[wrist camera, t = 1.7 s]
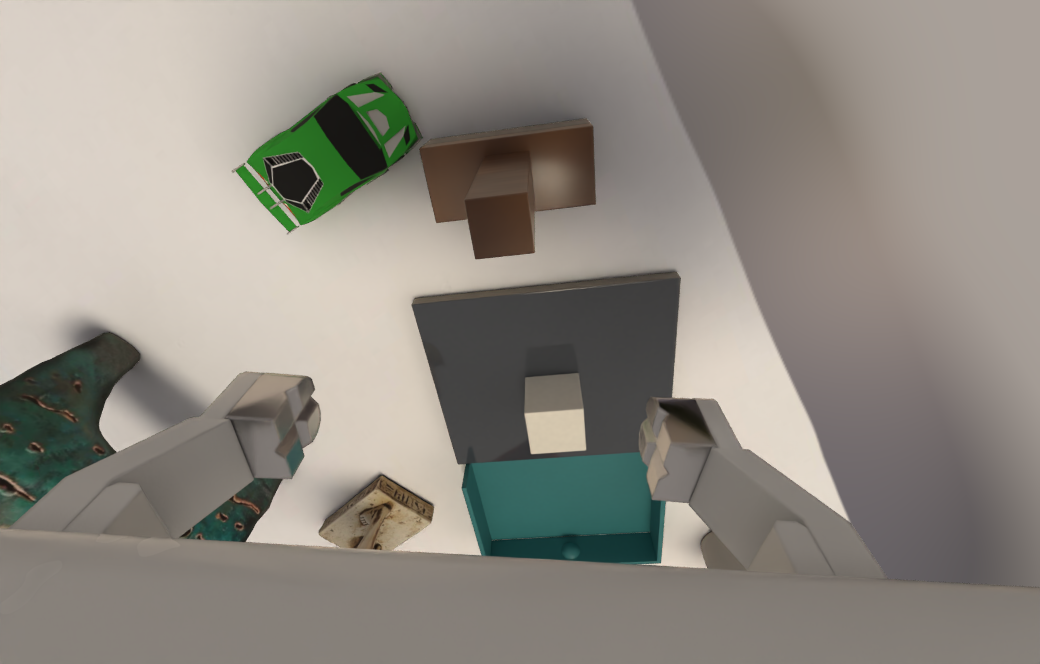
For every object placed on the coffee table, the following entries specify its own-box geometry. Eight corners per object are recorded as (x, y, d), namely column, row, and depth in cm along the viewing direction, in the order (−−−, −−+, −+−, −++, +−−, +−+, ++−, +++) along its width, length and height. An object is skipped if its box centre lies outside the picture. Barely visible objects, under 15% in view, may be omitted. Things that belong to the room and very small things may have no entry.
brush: (587, 118, 25) (619, 157, 15) (590, 190, 27) (620, 263, 18) (430, 138, 26) (371, 188, 16) (444, 207, 28) (400, 286, 18)
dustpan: (466, 457, 40) (461, 488, 37) (658, 444, 38) (667, 475, 35) (504, 595, 52) (502, 626, 49) (649, 589, 51) (656, 621, 48)
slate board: (676, 271, 30) (680, 277, 29) (665, 441, 38) (668, 450, 37) (414, 297, 31) (411, 304, 30) (459, 455, 40) (457, 464, 39)
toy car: (378, 60, 24) (365, 61, 22) (431, 143, 26) (423, 150, 24) (248, 159, 26) (226, 167, 24) (306, 226, 29) (289, 238, 27)
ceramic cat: (314, 469, 41) (161, 763, 24) (268, 493, 43) (97, 779, 26) (111, 312, 32) (-350, 596, 15) (65, 350, 34) (-386, 639, 18)
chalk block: (578, 372, 33) (583, 409, 30) (581, 412, 35) (586, 450, 32) (525, 376, 33) (524, 413, 30) (531, 416, 35) (530, 454, 32)
